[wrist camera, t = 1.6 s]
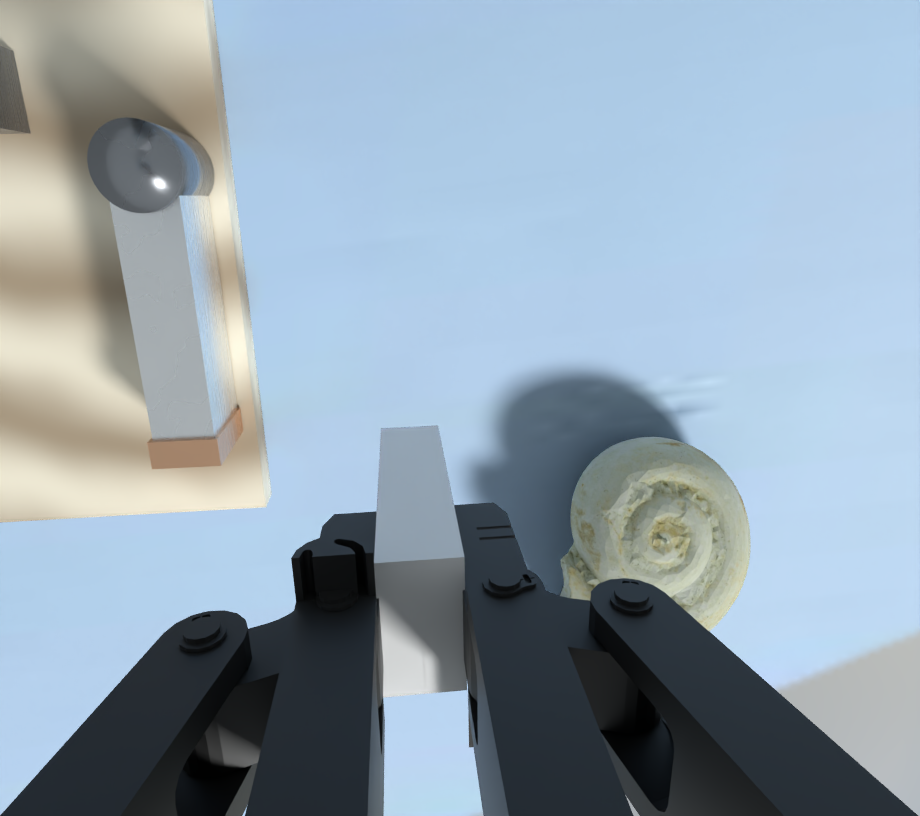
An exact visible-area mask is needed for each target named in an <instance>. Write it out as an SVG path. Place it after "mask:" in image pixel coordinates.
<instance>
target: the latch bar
mask: <svg viewBox="0 0 920 816" xmlns="http://www.w3.org/2000/svg"><path fill="white" fill-rule="evenodd" d="M87 163H88V169H89V173H90V176H91V178H92V180H93V182H94V184H95V186H96V187H97V189H98V190H99V192H100V193H101V194H102V195H103V196H104V197H105V198H106V199H107V200H108V201H109V202H110V208H111V213H112V219H113V224H114V230H115V235H116V241H117V246H118V252H119V257H120V263H121V268H122V274H123V280H124V285H125V291H126V296H127V302H128V307H129V313H130V318H131V324H132V329H133V335H134V340H135V346H136V351H137V357H138V362H139V368H140V374H141V379H142V385H143V390H144V396H145V401H146V407H147V412H148V418H149V423H150V429H151V434H152V438H151V439H150V440H149V441H148V442H147V445H148V450H149V456H150V461H151V467H152V469H169V468H188V467H208V466H221V465H222V464H223V462H224V460H225V459H226V457H227V456H228V454H229V453H230V451H231V450H232V448H233V446H234V445H235V443H236V442H237V440H238V439H239V437H240V436H241V434H242V432H243V424H242V416H241V409H240V408H237V403H236V395H235V388H234V380H233V373H232V365H231V358H230V350H229V343H228V335H227V327H226V320H225V312H224V305H223V297H222V290H221V282H220V275H219V267H218V260H217V252H216V244H215V237H214V229H213V222H212V214H211V207H210V199H209V195H210V193H211V191H212V189H213V185H214V178H215V175H214V167H213V163H212V160H211V158H210V156H209V154H208V153H207V151H206V150H205V148H204V147H203V146H202V145H201V144H200V143H199V142H198V141H197V140H196V139H194V138H193V137H191V136H189V135H187V134H185V133H182V132H179V131H176V130H173V129H170V128H167V127H163V126H160V125H157V124H154V123H151V122H147V121H144V120H141V119H137V118H129V117H125V118H117V119H114V120H111V121H109V122H107V123H105V124H104V125H102V126H101V127H100V128H99V129H98V130H97V131H96V132H95V134H94V135H93V137H92V139H91V141H90V143H89V147H88V152H87Z"/></svg>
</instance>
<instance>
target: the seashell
mask: <svg viewBox="0 0 920 816" xmlns="http://www.w3.org/2000/svg"><path fill="white" fill-rule="evenodd" d="M570 517H571V530H572V535H573V539H574V542H573V545H572V546H571V548H570V549H569V551H568V553H567V554H566V555H564V556H563V558H562V559H561V560H560V561H561V568H562V570H563V578H564V586H563V588H562V592H561V594H560V596H562V597H567V598H573V599H581V600H589V601H590V598H591V591H592V590H593V589H594V588H595V587H596V586H597V584H599V583H602V582H604V581H607V580H610V579H620V578H629V579H636V580H640V581H643V582H646V583H649V584H652V585H654V586H655V587H657V588H659V589H660V590H662V591H663V592H665V593H666V594H667V595H668V596H669V597H671V598H672V599H673V600H674V601H675V602H676V603H677V604H678V605H680V606H681V607H682V608H683V609H684V610H685V611H686V612H688V613H689V614H690V615H691V616H692V617H693V618H694V619H695V620H697V621H698V622H699V623H700V624H701V625H702V626H703V627H705V628H706V629H707V630H708V631H711V630H712V629H713V628H714V627H715V626H716V625H717V624H718V623H719V622H720V620H721V619H722V618H723V617H724V616H725V614H726V613H727V612H728V610H729V609H730V607H731V606H732V604H733V603H734V601H735V600H736V598H737V596H738V594H739V592H740V590H741V588H742V585H743V582H744V580H745V577H746V573H747V569H748V565H749V557H750V530H749V523H748V518H747V514H746V511H745V507H744V504H743V501H742V499H741V496H740V494H739V492H738V490H737V488H736V486H735V485H734V483H733V481H732V480H731V479H730V477H729V476H728V475H727V474H726V473H725V471H724V470H723V469H722V468H721V467H720V466H719V465H718V464H717V463H716V462H715V461H714V460H713V459H711V458H710V457H709V456H707V455H706V454H705V453H703V452H702V451H700V450H698V449H696V448H695V447H693V446H690V445H688V444H685V443H683V442H680V441H676V440H673V439H669V438H663V437H640V438H634V439H629V440H625V441H623V442H620V443H617V444H615V445H612V446H611V447H609V448H607V449H606V450H604V451H603V452H601V453H600V454H599V455H598V456H597V457H596V458H594V459H593V460H592V461H591V463H590V464H589V465H588V466H587V468H586V469H585V470H584V471H583V473H582V475H581V477H580V479H579V481H578V483H577V485H576V488H575V491H574V494H573V497H572V504H571V514H570Z"/></svg>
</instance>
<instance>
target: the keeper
mask: <svg viewBox="0 0 920 816" xmlns="http://www.w3.org/2000/svg"><path fill="white" fill-rule="evenodd" d="M0 134H31V131H30V127H29V122H28V117H27V113H26V108H25V103H24V98H23V94H22V89H21V84H20V79H19V75H18V70H17V65H16V61H15V56H14V51H13V50H10V49H7V48H5V47H2V46H0Z"/></svg>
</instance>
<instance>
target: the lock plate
mask: <svg viewBox="0 0 920 816" xmlns="http://www.w3.org/2000/svg"><path fill="white" fill-rule="evenodd" d="M0 46H2V47H5V48H7V49H10V50H13V51H14V56H15V61H16V65H17V70H18V75H19V79H20V84H21V89H22V94H23V98H24V103H25V108H26V113H27V117H28V122H29V127H30V131H31V134H0V522H15V521H32V520H50V519H67V518H85V517H102V516H120V515H137V514H155V513H172V512H190V511H207V510H224V509H242V508H259V507H266V506H267V504H268V501H269V499H270V496H271V486H270V478H269V469H268V461H267V452H266V444H265V436H264V427H263V419H262V411H261V402H260V394H259V386H258V377H257V369H256V361H255V352H254V344H253V336H252V327H251V319H250V310H249V302H248V294H247V285H246V277H245V269H244V260H243V252H242V244H241V235H240V227H239V219H238V210H237V202H236V194H235V185H234V177H233V168H232V160H231V152H230V143H229V135H228V127H227V118H226V110H225V102H224V93H223V85H222V77H221V68H220V60H219V52H218V43H217V35H216V26H215V18H214V10H213V1H212V0H0ZM125 117H129V118H137V119H141V120H144V121H147V122H151V123H154V124H157V125H160V126H163V127H167V128H170V129H173V130H176V131H179V132H182V133H185V134H187V135H189V136H191V137H193V138H194V139H196V140H197V141H198V142H199V143H200V144H201V145H202V146H203V147H204V148H205V150H206V151H207V153H208V154H209V156H210V158H211V160H212V163H213V167H214V175H215V178H214V185H213V189H212V191H211V193H210V195H209V199H210V207H211V214H212V222H213V229H214V237H215V244H216V252H217V260H218V267H219V275H220V282H221V290H222V297H223V305H224V312H225V320H226V327H227V335H228V343H229V350H230V358H231V365H232V373H233V380H234V388H235V395H236V403H237V408H240V409H241V416H242V424H243V432H242V434H241V436H240V437H239V439H238V440H237V442H236V443H235V445H234V446H233V448H232V450H231V451H230V453H229V454H228V456H227V457H226V459H225V460H224V462H223V464H222V465H221V466H208V467H188V468H169V469H152V467H151V461H150V456H149V450H148V445H147V442H148V441H149V440H150V439H151V438H152V434H151V429H150V423H149V418H148V412H147V407H146V401H145V396H144V390H143V385H142V379H141V374H140V368H139V362H138V357H137V351H136V346H135V340H134V335H133V329H132V324H131V318H130V313H129V307H128V302H127V296H126V291H125V285H124V280H123V274H122V268H121V263H120V257H119V252H118V246H117V241H116V235H115V230H114V224H113V219H112V213H111V208H110V202H109V201H108V200H107V199H106V198H105V197H104V196H103V195H102V194H101V193H100V192H99V190H98V189H97V187H96V186H95V184H94V182H93V180H92V178H91V176H90V173H89V169H88V163H87V152H88V147H89V143H90V141H91V139H92V137H93V135H94V134H95V132H96V131H97V130H98V129H99V128H100V127H101V126H102V125H104V124H105V123H107V122H109V121H111V120H114V119H117V118H125Z"/></svg>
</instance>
